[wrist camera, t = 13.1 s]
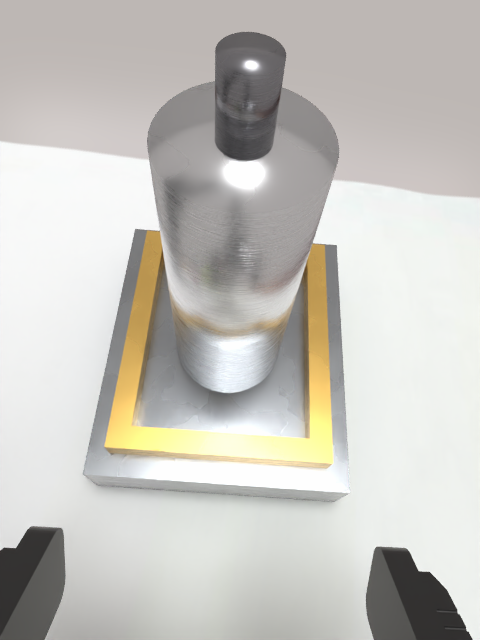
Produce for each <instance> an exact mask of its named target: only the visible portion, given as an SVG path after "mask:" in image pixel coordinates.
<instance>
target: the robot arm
mask: <svg viewBox="0 0 480 640" xmlns="http://www.w3.org/2000/svg"><path fill="white" fill-rule="evenodd" d="M64 585H65V557H64V535H63V530H62V529H61V528H52V527H34V526H32V527H30V528H29V529H28V530H27V531H26V533H25V535H24V536H23V538H22V539H21V541H20V543H19V544H18V546H17V548H3V549H2V550H1V551H0V640H44V639H45V637H46V635H47V632H48V630H49V628H50V625H51V623H52V621H53V618H54V616H55V614H56V611H57V609H58V607H59V604H60V602H61V599H62V595H63V591H64ZM366 609H367V616H368V621H369V625H370V628H371V631H372V635H373V638H374V640H472V638H471V636H470V634H469V632H467V631H466V626H465V624H464V622H463V620H462V618H461V616H460V615H459V614H458V613H457V609H456V607H455V605H454V603H453V601H452V599H451V597H450V595H449V593H448V591H447V590H446V589H445V588H444V586H443V585H442V584H441V583H440V582H439V581H438V580H437V579H436V578H435V577H434V576H433V575H432V574H431V573H430V572H419V571H418V569H417V567H416V565H415V563H414V561H413V559H412V556H411V554H410V552H409V551H408V550H407V549H406V548H393V547H376V548H375V550H374V554H373V560H372V565H371V571H370V576H369V582H368V587H367V593H366Z"/></svg>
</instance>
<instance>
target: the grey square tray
mask: <svg viewBox="0 0 480 640" xmlns="http://www.w3.org/2000/svg"><path fill="white" fill-rule="evenodd" d="M83 475H84V476H86V477H87V478H88V479H90V480H91V481H92V482H94V483H95V484H96V485H102V486H116V487H131V488H145V489H159V490H174V491H188V492H203V493H217V494H231V495H246V496H260V497H275V498H289V499H304V500H318V501H332V502H335V501H336V500H338V499H340V498H342V497H344V496H345V495H347V494H349V493H350V485H349V466H348V448H347V429H346V411H345V392H344V374H343V355H342V337H341V318H340V300H339V281H338V263H337V245H326V244H314V243H312V247H311V250H310V253H309V256H308V259H307V263H306V266H305V269H304V272H303V275H302V279H301V282H300V285H299V288H298V291H297V295H296V298H295V301H294V304H293V307H292V311H291V314H290V317H289V320H288V323H287V327H286V330H285V333H284V336H283V339H282V343H281V346H280V349H279V352H278V355H277V359H276V362H275V364H274V366H273V368H272V370H271V372H270V373H269V374H268V375H267V377H266V378H265V379H264V380H263V381H261V382H260V383H259V384H257V385H255V386H254V387H252V388H250V389H247V390H244V391H240V392H234V393H223V392H217V391H213V390H210V389H207V388H205V387H203V386H201V385H199V384H198V383H197V382H195V381H194V380H193V379H192V378H191V377H190V376H189V375H188V374H187V372H186V371H185V370H184V368H183V366H182V364H181V362H180V359H179V354H178V348H177V342H176V335H175V328H174V322H173V315H172V308H171V302H170V295H169V288H168V281H167V275H166V268H165V261H164V255H163V248H162V241H161V235H160V231H153V230H140V229H135V233H134V237H133V242H132V247H131V252H130V256H129V261H128V266H127V270H126V275H125V280H124V284H123V289H122V294H121V298H120V303H119V308H118V312H117V317H116V322H115V326H114V331H113V336H112V340H111V345H110V350H109V354H108V359H107V364H106V368H105V373H104V378H103V382H102V387H101V392H100V396H99V401H98V406H97V410H96V415H95V420H94V424H93V429H92V434H91V438H90V443H89V448H88V452H87V457H86V462H85V466H84V471H83Z"/></svg>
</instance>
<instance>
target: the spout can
mask: <svg viewBox="0 0 480 640" xmlns="http://www.w3.org/2000/svg"><path fill="white" fill-rule="evenodd" d="M215 54H216V55H215V82H209V83H205V84H201V85H198V86H195V87H192V88H190V89H188V90H185V91H183V92H181V93H180V94H178V95H176V96H175V97H173V98H172V99H170V100H169V101H168V102H167V103H166V104H165V105H164V106H163V107H161V109H160V110H159V111H158V112H157V114H156V115H155V117H154V119H153V121H152V122H151V125H150V128H149V131H148V138H147V145H148V153H149V161H150V167H151V174H152V181H153V188H154V194H155V201H156V208H157V214H158V221H159V228H160V235H161V241H162V248H163V255H164V261H165V268H166V275H167V281H168V288H169V295H170V302H171V308H172V315H173V322H174V328H175V335H176V342H177V348H178V354H179V359H180V362H181V364H182V366H183V368H184V370H185V371H186V372H187V374H188V375H189V376H190V377H191V378H192V379H193V380H194V381H195V382H197V383H198V384H199V385H201V386H203V387H205V388H207V389H210V390H213V391H217V392H223V393H234V392H240V391H244V390H247V389H250V388H252V387H254V386H255V385H257V384H259V383H260V382H261V381H263V380H264V379H265V378H266V377H267V375H268V374H269V373H270V372H271V370H272V368H273V366H274V364H275V362H276V359H277V355H278V352H279V349H280V346H281V343H282V339H283V336H284V333H285V330H286V327H287V323H288V320H289V317H290V314H291V311H292V307H293V304H294V301H295V298H296V295H297V291H298V288H299V285H300V282H301V279H302V275H303V272H304V269H305V266H306V263H307V259H308V256H309V253H310V250H311V247H312V243H313V240H314V237H315V234H316V231H317V227H318V224H319V221H320V218H321V215H322V211H323V208H324V205H325V202H326V199H327V195H328V192H329V189H330V186H331V183H332V179H333V176H334V173H335V170H336V166H337V162H338V158H339V145H338V139H337V136H336V133H335V131H334V129H333V127H332V125H331V123H330V122H329V121H328V119H327V118H326V116H325V115H324V114H323V113H322V112H321V111H320V110H319V109H318V108H317V107H316V106H314V105H313V104H312V103H311V102H309V101H308V100H306V99H305V98H303V97H302V96H300V95H298V94H296V93H294V92H292V91H290V90H287V89H285V88H282V81H283V74H284V67H285V61H286V52H285V49H284V48H283V46H282V45H281V44H280V43H279V42H278V41H277V40H275V39H273V38H272V37H269V36H267V35H263V34H260V33H254V32H240V33H235V34H231V35H229V36H227V37H225V38H223V39H222V40H221V41H220V42H219V43H218V44H217V46H216V52H215Z"/></svg>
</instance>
